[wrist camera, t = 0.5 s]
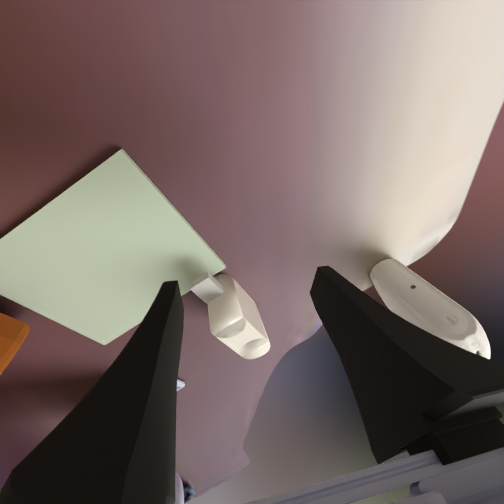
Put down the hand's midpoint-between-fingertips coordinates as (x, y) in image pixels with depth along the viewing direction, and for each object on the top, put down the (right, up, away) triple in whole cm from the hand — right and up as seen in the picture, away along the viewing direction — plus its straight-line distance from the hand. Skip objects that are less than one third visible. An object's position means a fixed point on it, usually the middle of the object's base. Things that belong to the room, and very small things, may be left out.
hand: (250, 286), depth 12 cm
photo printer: (+19, -2, +20) cm, 28 cm away
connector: (-3, -3, +14) cm, 14 cm away
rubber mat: (-13, +1, +9) cm, 15 cm away
